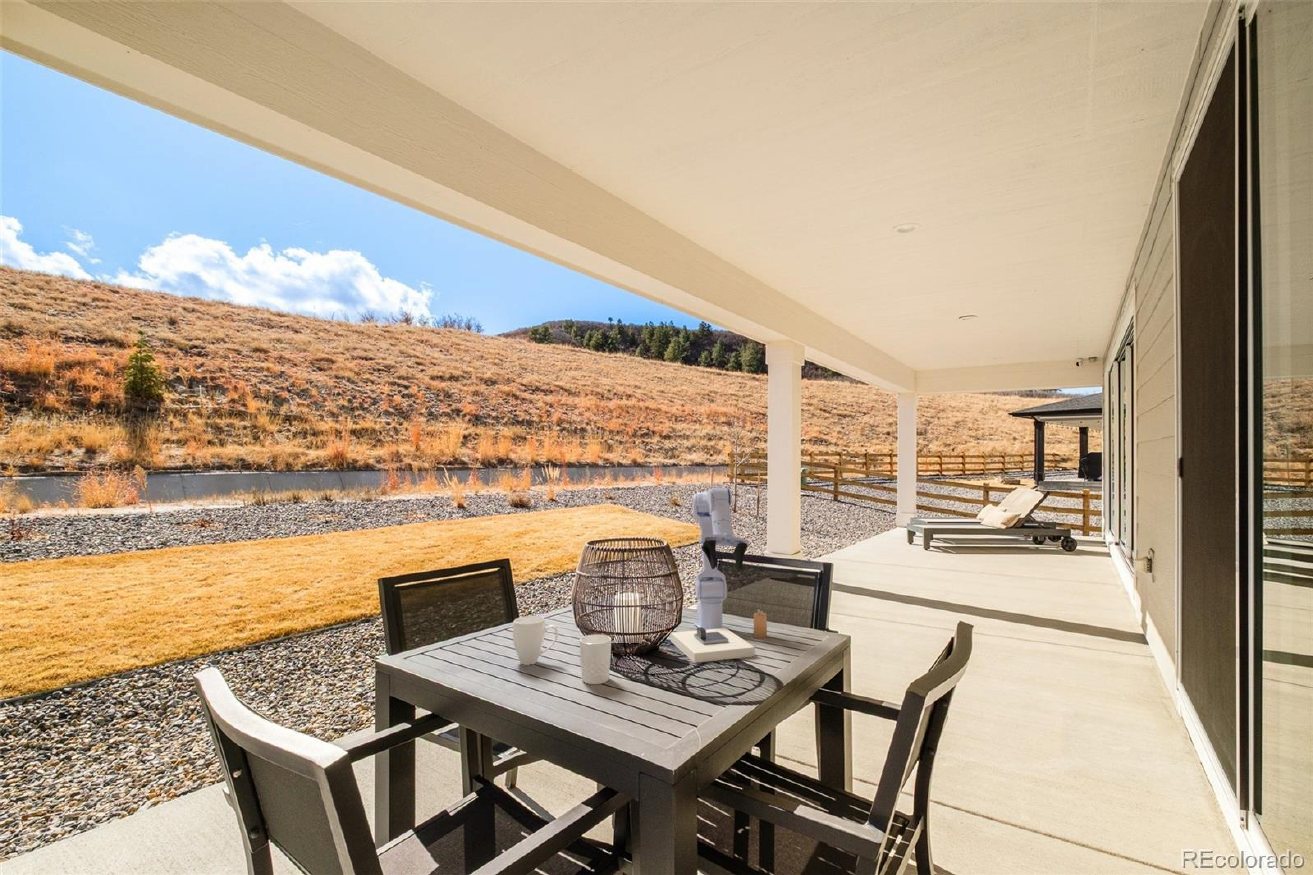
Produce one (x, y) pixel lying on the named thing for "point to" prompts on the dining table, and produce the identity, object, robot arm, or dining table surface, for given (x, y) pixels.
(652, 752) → the dining table surface
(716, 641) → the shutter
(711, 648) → the socket plate
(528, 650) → the mug
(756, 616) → the plug peg
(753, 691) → the dining table surface
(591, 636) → the white cup
